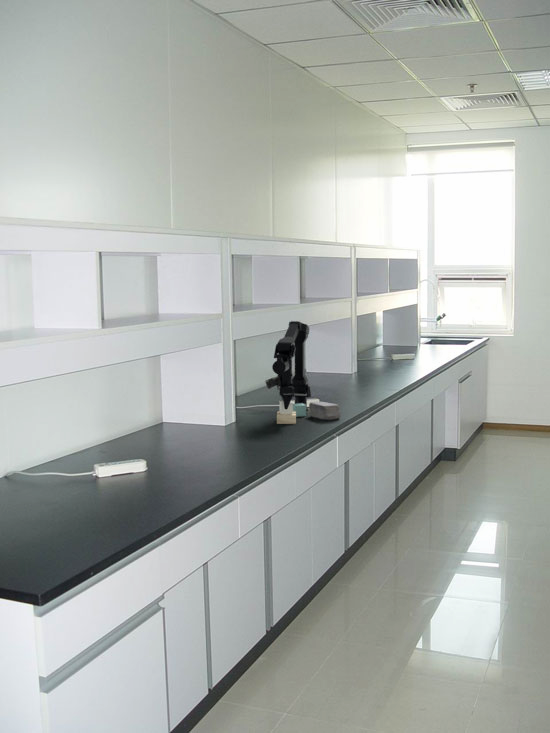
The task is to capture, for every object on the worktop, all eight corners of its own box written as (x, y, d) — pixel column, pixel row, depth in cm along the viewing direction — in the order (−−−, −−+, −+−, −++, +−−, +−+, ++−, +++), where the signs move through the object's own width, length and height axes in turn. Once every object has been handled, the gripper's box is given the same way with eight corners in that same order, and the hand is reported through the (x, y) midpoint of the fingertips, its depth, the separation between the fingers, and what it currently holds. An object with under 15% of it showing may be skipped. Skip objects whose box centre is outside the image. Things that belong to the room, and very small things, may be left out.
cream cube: (279, 412, 348) (279, 400, 347) (291, 411, 348) (291, 400, 347) (280, 414, 343) (280, 402, 342) (292, 414, 343) (292, 402, 343)
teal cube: (291, 414, 361) (291, 403, 360) (302, 414, 362) (302, 403, 362) (295, 416, 356) (295, 405, 355) (306, 416, 358) (306, 405, 357)
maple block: (277, 420, 350) (277, 411, 349) (296, 420, 349) (296, 411, 349) (276, 424, 342) (276, 415, 341) (295, 424, 341) (295, 415, 341)
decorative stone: (333, 422, 345) (344, 417, 354) (333, 406, 344) (343, 402, 353) (303, 419, 353) (314, 414, 361) (303, 403, 352) (314, 399, 360)
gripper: (265, 368, 352) (265, 403, 354) (267, 374, 333) (267, 411, 335) (290, 367, 352) (290, 403, 355) (294, 374, 334) (294, 411, 336)
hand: (285, 407), depth 345 cm, fingers open, 9 cm apart
